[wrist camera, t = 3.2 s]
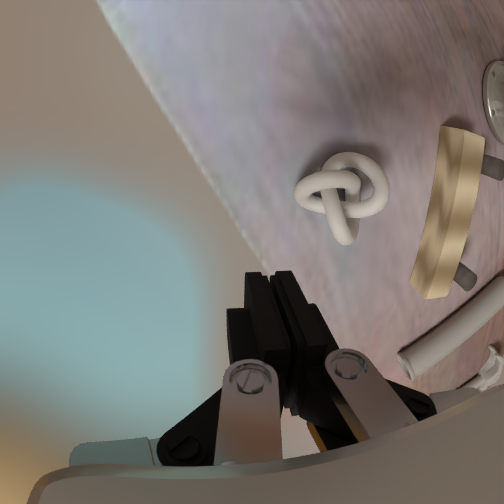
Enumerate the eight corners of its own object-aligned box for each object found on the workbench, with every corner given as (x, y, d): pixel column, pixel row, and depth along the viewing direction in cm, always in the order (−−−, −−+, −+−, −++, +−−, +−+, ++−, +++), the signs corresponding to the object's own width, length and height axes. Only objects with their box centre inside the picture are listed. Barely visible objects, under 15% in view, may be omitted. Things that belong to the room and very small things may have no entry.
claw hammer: (404, 445, 55) (491, 392, 51) (409, 414, 45) (512, 346, 42) (398, 430, 59) (483, 379, 56) (400, 395, 50) (500, 332, 47)
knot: (373, 214, 29) (402, 235, 23) (304, 240, 29) (323, 268, 24) (358, 145, 25) (391, 153, 20) (282, 169, 25) (299, 183, 20)
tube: (515, 273, 32) (406, 364, 35) (518, 298, 33) (414, 386, 36) (496, 267, 37) (393, 348, 40) (501, 290, 38) (402, 369, 41)
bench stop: (440, 125, 25) (477, 132, 19) (474, 137, 25) (509, 146, 20) (409, 282, 33) (434, 309, 28) (443, 279, 34) (468, 302, 29)
